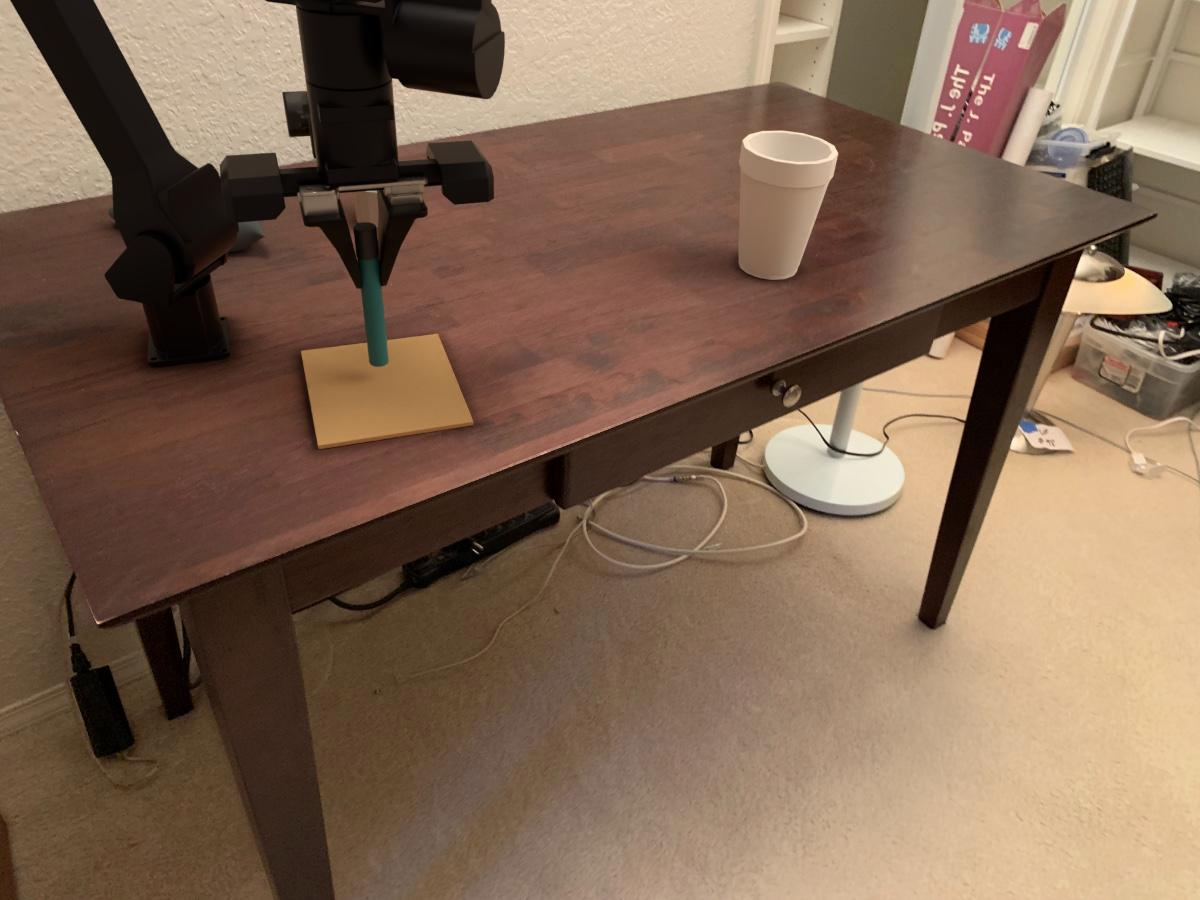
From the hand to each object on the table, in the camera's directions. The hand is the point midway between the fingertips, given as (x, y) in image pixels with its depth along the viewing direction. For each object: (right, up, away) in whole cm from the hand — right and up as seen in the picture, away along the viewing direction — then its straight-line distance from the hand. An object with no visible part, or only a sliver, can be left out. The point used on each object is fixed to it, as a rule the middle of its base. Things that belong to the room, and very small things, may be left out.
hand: (371, 285), depth 72 cm
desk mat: (0, -8, +5) cm, 9 cm away
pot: (-6, +13, +30) cm, 34 cm away
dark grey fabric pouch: (-25, +9, +24) cm, 36 cm away
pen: (0, -6, +4) cm, 7 cm away
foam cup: (+36, +7, +27) cm, 46 cm away
